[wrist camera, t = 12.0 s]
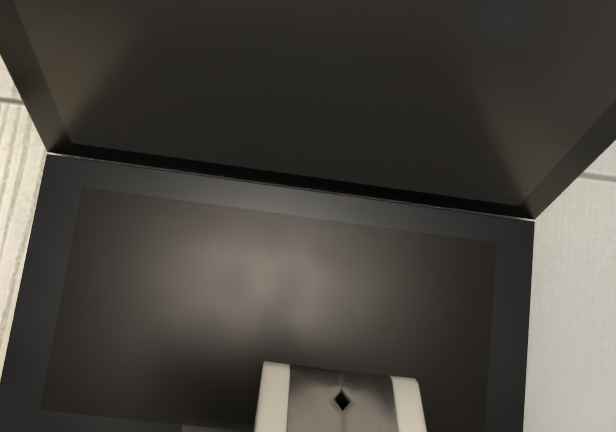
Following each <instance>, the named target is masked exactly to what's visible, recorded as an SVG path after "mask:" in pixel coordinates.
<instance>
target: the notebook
mask: <svg viewBox="0 0 616 432" xmlns="http://www.w3.org/2000/svg"><path fill="white" fill-rule="evenodd" d="M534 224H535V222H533V221H526V220H519V219H511V218H504V217H497V216H490V215H483V214H475V213H468V212H461V211H454V210H446V209H439V208H432V207H425V206H418V205H410V204H403V203H396V202H389V201H382V200H374V199H367V198H360V197H353V196H345V195H338V194H331V193H324V192H317V191H309V190H302V189H295V188H288V187H281V186H273V185H266V184H259V183H252V182H244V181H237V180H230V179H223V178H216V177H208V176H201V175H194V174H187V173H180V172H172V171H165V170H158V169H151V168H143V167H136V166H129V165H122V164H115V163H107V162H100V161H93V160H86V159H79V158H71V157H64V156H57V155H50V154H47V156H46V161H45V166H44V171H43V176H42V181H41V185H40V190H39V195H38V200H37V205H36V210H35V215H34V220H33V225H32V229H31V234H30V239H29V244H28V249H27V254H26V259H25V264H24V269H23V273H22V278H21V283H20V288H19V293H18V298H17V303H16V308H15V312H14V317H13V322H12V327H11V332H10V337H9V342H8V347H7V352H6V356H5V361H4V366H3V371H2V376H1V381H0V432H254V424H255V417H256V410H257V403H258V396H259V390H260V383H261V376H262V370H263V363H264V361H268V362H276V363H284V364H289V365H290V364H292V365H299V366H306V367H314V368H321V369H328V370H335V371H339V370H344V371H354V372H364V373H374V374H384V375H389V376H397V377H407V378H415V379H416V381H417V382H418V385H419V390H420V396H421V402H422V407H423V413H424V419H425V424H426V430H427V432H523V420H524V402H525V384H526V367H527V349H528V331H529V313H530V296H531V278H532V260H533V242H534Z"/></svg>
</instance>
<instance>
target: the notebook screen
mask: <svg viewBox="0 0 616 432" xmlns="http://www.w3.org/2000/svg"><path fill="white" fill-rule="evenodd" d="M0 55H1V57H2V59H3V61H4V63H5V65H6V67H7V69H8V72H9V74H10V76H11V78H12V80H13V82H14V84H15V86H16V88H17V90H18V92H19V94H20V96H21V98H22V100H23V102H24V105H25V107H26V109H27V111H28V113H29V115H30V117H31V119H32V121H33V123H34V125H35V127H36V129H37V131H38V133H39V135H40V138H41V140H42V142H43V144H44V146H45V148H46V150H47V152H51V153H58V154H65V155H72V156H80V157H87V158H94V159H101V160H108V161H116V162H123V163H130V164H137V165H144V166H152V167H159V168H166V169H173V170H180V171H188V172H195V173H202V174H209V175H216V176H224V177H231V178H238V179H245V180H252V181H260V182H267V183H274V184H281V185H288V186H296V187H303V188H310V189H317V190H324V191H332V192H339V193H346V194H353V195H360V196H368V197H375V198H382V199H389V200H396V201H404V202H411V203H418V204H425V205H432V206H440V207H447V208H454V209H461V210H468V211H476V212H483V213H490V214H497V215H504V216H512V217H519V218H526V219H533V220H534V219H536V218H537V217H538V216H539V215H540V214H541V213H542V212H543V211H544V210H545V209H546V208H547V207H548V206H549V205H550V204H551V203H552V202H553V201H554V200H555V199H556V198H557V197H558V196H559V195H560V194H561V193H562V192H563V191H564V190H565V189H566V188H567V187H568V186H569V185H570V184H571V183H572V182H573V181H574V180H575V179H576V178H577V177H578V176H579V175H580V174H581V173H582V172H583V171H584V170H585V169H586V168H587V167H589V166H590V165H591V164H592V163H593V162H594V161H595V160H596V159H597V158H598V157H599V156H600V155H601V154H602V153H603V152H604V151H605V150H606V149H607V148H608V147H609V146H610V145H611V144H612V143H613V142H614V141H615V140H616V0H0Z"/></svg>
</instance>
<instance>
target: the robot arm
mask: <svg viewBox="0 0 616 432" xmlns="http://www.w3.org/2000/svg"><path fill="white" fill-rule="evenodd" d="M254 432H427V430H426V424H425V419H424V413H423V407H422V402H421V396H420V390H419V385H418V382H417V381H416V379H415V378H407V377H397V376H389V375H384V374H374V373H364V372H354V371H344V370H339V371H335V370H328V369H321V368H314V367H306V366H299V365H292V364H290V365H289V364H284V363H276V362H268V361H264V363H263V370H262V376H261V383H260V390H259V396H258V403H257V410H256V417H255V424H254Z"/></svg>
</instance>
